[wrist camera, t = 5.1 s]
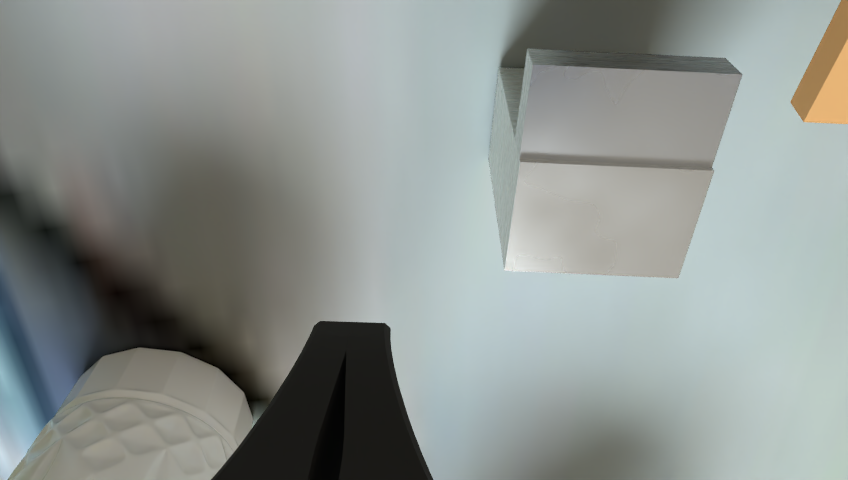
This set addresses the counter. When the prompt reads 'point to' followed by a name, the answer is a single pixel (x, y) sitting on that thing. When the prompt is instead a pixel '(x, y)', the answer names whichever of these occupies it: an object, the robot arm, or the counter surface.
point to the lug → (605, 159)
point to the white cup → (142, 422)
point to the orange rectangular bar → (827, 76)
